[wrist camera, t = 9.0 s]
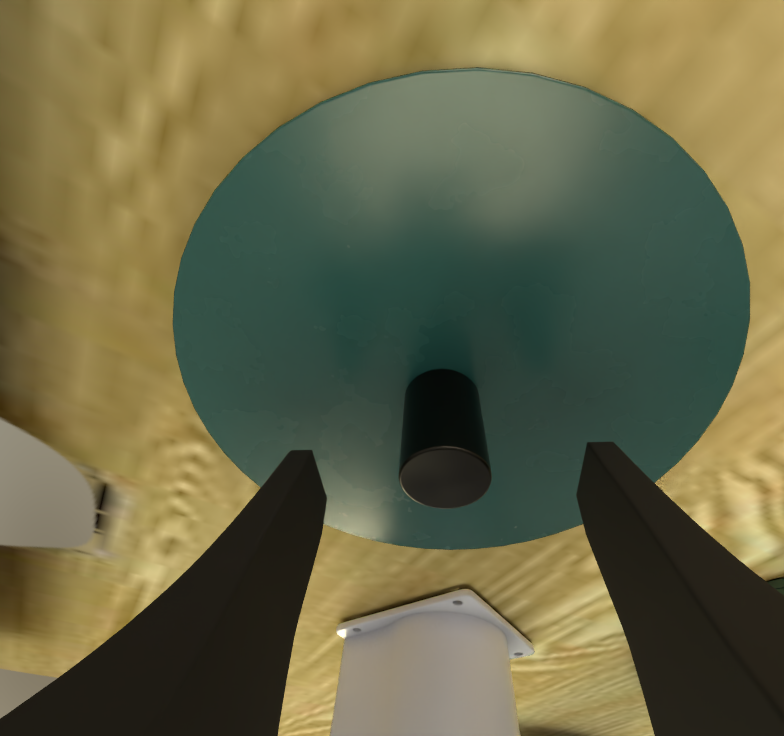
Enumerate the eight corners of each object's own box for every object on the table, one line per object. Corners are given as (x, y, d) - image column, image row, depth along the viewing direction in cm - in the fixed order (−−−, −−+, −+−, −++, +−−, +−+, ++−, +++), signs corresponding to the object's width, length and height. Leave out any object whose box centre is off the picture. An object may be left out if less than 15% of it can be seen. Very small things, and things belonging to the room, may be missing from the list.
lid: (451, 570, 21) (456, 673, 17) (120, 393, 16) (25, 487, 12) (839, 358, 13) (1006, 471, 9) (409, -173, 7) (387, -433, 4)
